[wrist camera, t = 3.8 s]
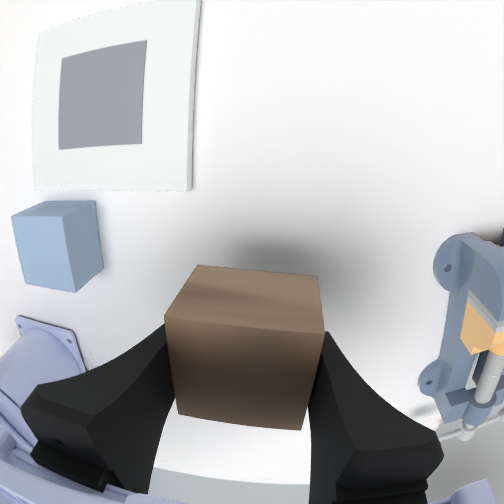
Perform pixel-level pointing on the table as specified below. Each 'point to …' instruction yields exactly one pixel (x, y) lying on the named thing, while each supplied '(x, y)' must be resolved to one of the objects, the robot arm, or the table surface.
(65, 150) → the board
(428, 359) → the table surface
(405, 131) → the table surface
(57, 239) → the blue block
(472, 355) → the vise
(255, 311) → the walnut block
